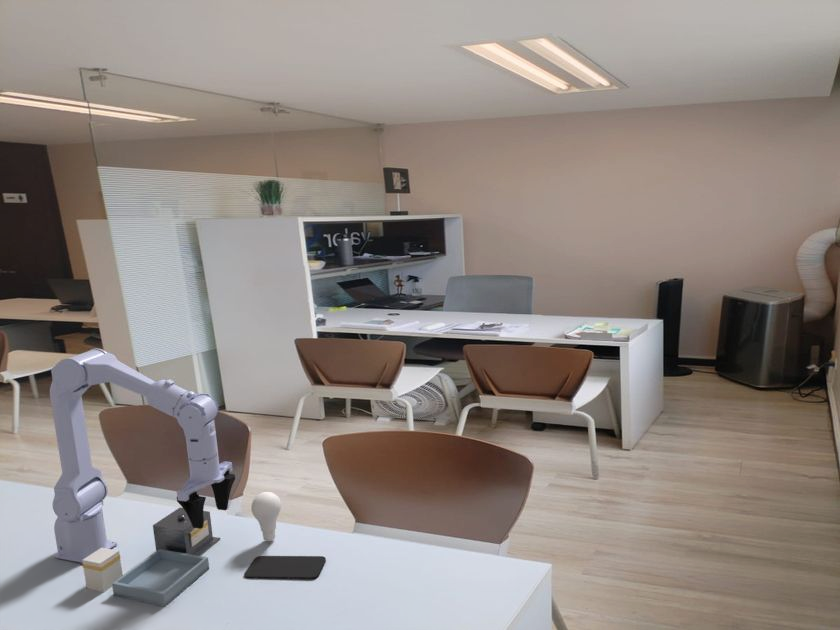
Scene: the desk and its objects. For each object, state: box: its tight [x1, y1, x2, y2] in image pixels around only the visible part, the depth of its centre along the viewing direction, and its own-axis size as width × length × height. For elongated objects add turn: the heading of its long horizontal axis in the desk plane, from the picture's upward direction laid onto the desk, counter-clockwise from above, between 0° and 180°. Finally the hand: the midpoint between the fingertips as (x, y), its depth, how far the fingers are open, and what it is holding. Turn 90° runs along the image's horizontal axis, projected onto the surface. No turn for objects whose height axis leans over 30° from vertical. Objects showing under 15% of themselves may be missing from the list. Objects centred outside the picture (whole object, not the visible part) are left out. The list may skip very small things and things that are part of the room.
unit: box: [150, 507, 221, 556], centre depth 130 cm, size 10×10×8 cm
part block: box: [82, 548, 124, 593], centre depth 119 cm, size 5×5×6 cm
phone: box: [243, 555, 327, 581], centre depth 121 cm, size 7×1×15 cm
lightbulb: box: [251, 491, 282, 542], centre depth 131 cm, size 6×6×11 cm
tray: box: [111, 549, 210, 607], centre depth 119 cm, size 12×12×2 cm
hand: (210, 518), depth 126 cm, fingers open, 7 cm apart
